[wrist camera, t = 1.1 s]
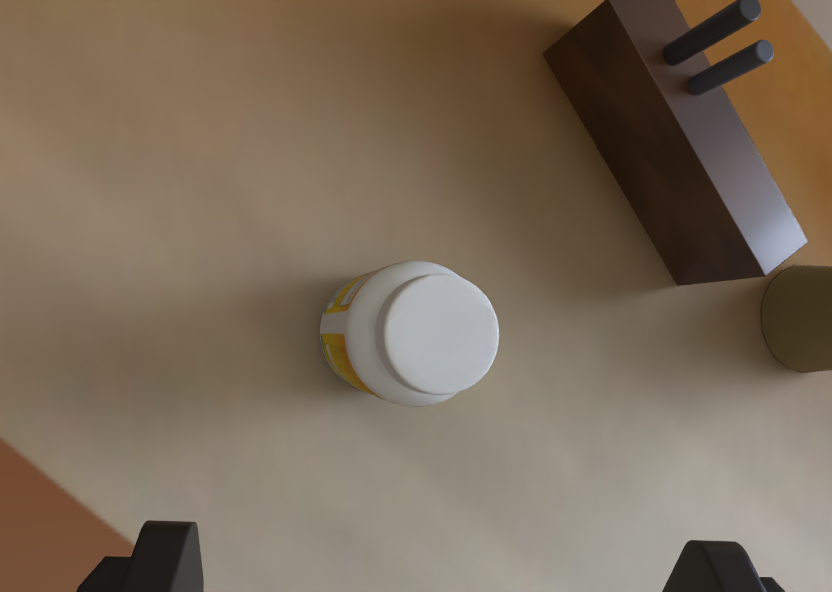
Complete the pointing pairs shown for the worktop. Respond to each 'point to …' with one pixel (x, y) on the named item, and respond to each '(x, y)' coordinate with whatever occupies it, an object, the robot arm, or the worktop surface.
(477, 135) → the worktop surface
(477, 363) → the supplement bottle
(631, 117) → the walnut pen block
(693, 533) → the worktop surface
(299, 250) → the worktop surface
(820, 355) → the olive pawn figure
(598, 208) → the worktop surface
